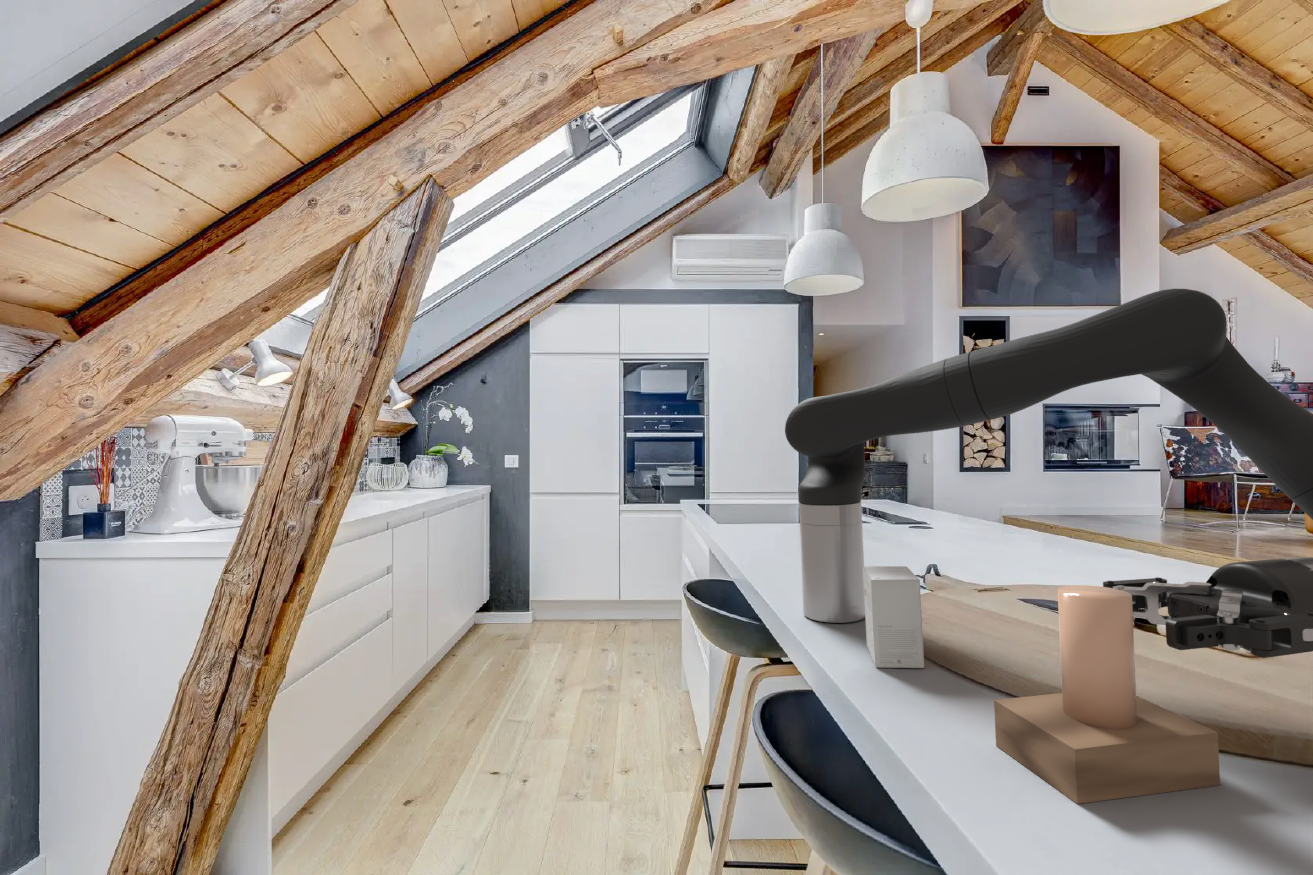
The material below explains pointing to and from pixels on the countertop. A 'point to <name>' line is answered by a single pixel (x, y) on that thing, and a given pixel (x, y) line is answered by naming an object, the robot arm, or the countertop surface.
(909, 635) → the small box
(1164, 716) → the walnut plinth
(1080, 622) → the terracotta canister
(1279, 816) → the countertop surface
